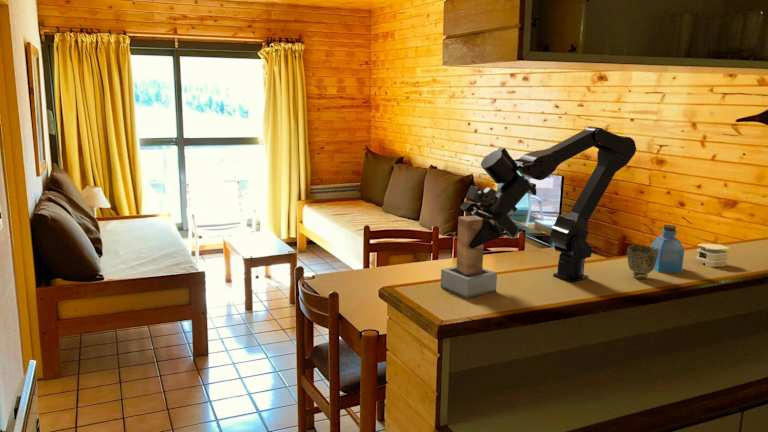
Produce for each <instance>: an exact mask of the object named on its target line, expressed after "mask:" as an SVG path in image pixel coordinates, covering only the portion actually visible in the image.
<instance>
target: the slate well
mask: <svg viewBox="0 0 768 432" xmlns="http://www.w3.org/2000/svg"><path fill="white" fill-rule="evenodd" d="M497 281H498V273H497V272H496V271H492V270H491V269H490V270H489V269H487V268H484V267H482V273H476V274H467V275H465V274H463V273H462V272H460V271H458V270H457V265H456V266H451V267H446V268H441V269H440V288H441V289H443V290H445V291H447V292H451V293H452V294H455V295H457V296H459V297H462V298H464V299H467V300H468V299H470V298H474V297H475V298H476V297H478V296H483V295H488V294H492V293H495V292H497V284H498V283H497Z"/></svg>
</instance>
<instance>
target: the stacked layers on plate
mask: <svg viewBox="0 0 768 432" xmlns="http://www.w3.org/2000/svg"><path fill="white" fill-rule="evenodd" d="M697 246H700V247H698V248H697V249H696V250H697V251H698V254H697V255H696V258H697V259H699V260H703V261H705V262H704V263H705V264H704V266H705V267H709V268H715V267H726V266H727V262H728V261H729V259H728V254H730V252H729V251H727V250H725V249H729V247H728V246H725V245H723V244H717V243H716V244H715V243H699V244H697Z"/></svg>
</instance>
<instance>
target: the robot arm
mask: <svg viewBox="0 0 768 432" xmlns="http://www.w3.org/2000/svg"><path fill="white" fill-rule="evenodd" d="M592 147H594V148H596V149H598V151H597V152H596V153H597V157H596V159H597V160H596V162H597V163H596V165H595V167H594V169H593V171H592V173H591V175H590V177H589V178H588V180H587V182H586V184H585V185H584V187H583V189H582V191H581V192H580V194H579V196H578V198H577V200H576V201H575V203H574V204H573V206H572V209H571V210H570V212H569V213H568V214H566V215H561V214H559V215H558V216H557V217H556V220H555V222H554V224H553V225H552V226H551V227H550V229H551V231H550V235H549V237H550V240H551V243H552V245H553V247H554V250H555V251H556V252H559V255H558V256H559V257H558V262H557V263H558V264H557V272H554V273H553V274H552V276H553V277H555V278H559V279H563V280H565V281H569V282H572V283H573V282H578V281H582V280H585V279H588V278H589V275H587V274H584V272H585V259H587V258H588V259H589V258H591V256H592V254H593V252H594V249H593V248H592V247H591V246H590V244H589V243H588V242H587V241H586V240H587V237H588V235H589V221H590V219H591V218H592V215H593V214H594V212H595V210H596V208H597V206H598V205H599V203H600V201H601V200H602V198H603V196H604V194H605V192H606V191H607V189H608V187H609V185H610V184H611V181H612V180H613V179H614V176H615V174H616V173H617V172H618V171H620V170H621V169H623V168H624V167H626V166H627V165H628V163H630V162H631V160H632V159H633V157H635V154H636V152H637V147H636V142H635V139H634V138H632V137H631V136H624V135H623V136H622V135H618V134H616V133H612V132H610V131H608V130H606V129H604V128H603V127H599V126H598V127H597V126H587V127H585V128H584V129H583V130H582V131H580V132H578V133H576V134H574V135H572V136H570V137H568V138H566V139H564V140H562V141H560V142H558V143H556V144H555V145H553V146H551V147H548V148H545V149H540V150H539V149H538V150H534V151H531V152H527V153H524V154H523V155H522V156H521V155H520V157H519V158H516V159H513V157H512V156H511V155H510V154H509V152H508V150H507V149H506V148H505V147H501V146H500V147H499V148H497V149H496V150H494V151H492V152H490V153H489V154H488V155H485V156H484V157H483V158H482V160H481V162H480V166H481V168H482V169H483V171H484V172H486V174H487V175H488V176H489V177H490V178H491V179H492V181H493V182H495V184H501V186H500V187H499V188H498V189H497V190H495V189H493V188H492V187H486V188H485V189H483V188H480V187H478V186H474V185H470V187H469V189H468V191H467V194H466V196H465V198H467V199H468V200H464V201H463V202H462V204H461V205H460V206H459V207H460V209H462V211H463V212H464V213H465V216H478V217H480V218H482V219H483V222H482V228H481V229H480V230H479V232H478V233H477V234H476V236H475V237H474V238H473V240H472V241H471V243H470V244H469V247H470V248H471V249H473V248H475V247H478V246H480V245H482V244H484V245H485V244H487V243H488V242H491V241H494V240H497V239H499V238H504V237H505V236H506V237H507V238H510V239H512V240H513V239H515V237H516V236H517V235H518V234H519V226H518V225H517V224H516V223H515V222H514V220H512V218H511V217H510V216H509V214H510V213H511V212H512V213H513V212H514V213H516V211H518V208H517V207H516V206H517V205H518V204H519V202H520V201H521V200H522V199H523V198H524V197H525V196H526V194H529V195H532V196H537V184H536V183H533V182H530V181H529V179H531V180H536V181H543V180H545V179H547V178H548V177H549V176H550V175H551V174H553V173H554V172H555V171H556V170H557V168H558V166H560V165H561V164H563V163H564V162H566V161H569V160H570V159H571V158H573V157H575V156H578V155H579V154H581V153H583V152H585V151H587V150H589V149H591V148H592ZM527 178H529V179H527ZM473 201H474V202H473ZM504 233H505V236H504Z"/></svg>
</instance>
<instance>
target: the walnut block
mask: <svg viewBox="0 0 768 432" xmlns="http://www.w3.org/2000/svg"><path fill="white" fill-rule="evenodd" d="M457 221H458V223H457V244H456V245H457V248H456V249H457V250H456V266H457V270H458V271H460V272H462V273H463V274H465V275H467V274H476V273H482V268H484V267H483V265H484V263H483V262H484V260H483V259H484V245H485V243H484V244H482V245H480V246H478V247H475V248H473V249H471V248H470V247H469V244H470V243H471V241H472V240H473V238H474V237H475V236H476V234H477V233H478V232H479V230H480V229H481V228H482V222H483V219H482V218H480V217H478V216H467V215H464V216H458V219H457Z"/></svg>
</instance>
